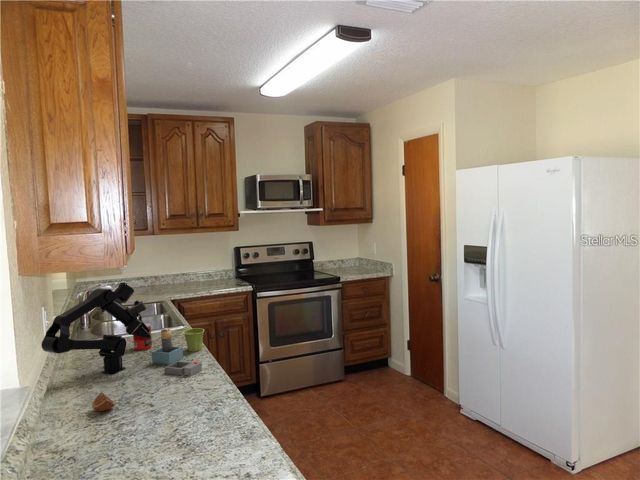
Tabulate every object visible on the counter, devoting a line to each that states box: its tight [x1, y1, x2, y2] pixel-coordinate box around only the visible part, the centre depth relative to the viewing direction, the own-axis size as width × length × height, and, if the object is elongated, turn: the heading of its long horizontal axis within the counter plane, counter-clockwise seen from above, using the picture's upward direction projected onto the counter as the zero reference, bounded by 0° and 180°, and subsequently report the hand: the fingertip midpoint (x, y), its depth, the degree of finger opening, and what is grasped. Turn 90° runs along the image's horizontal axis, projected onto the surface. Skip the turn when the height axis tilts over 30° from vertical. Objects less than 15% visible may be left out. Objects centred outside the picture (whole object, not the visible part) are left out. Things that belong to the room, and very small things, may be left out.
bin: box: [151, 345, 184, 366], centre depth 201 cm, size 9×9×5 cm
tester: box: [163, 360, 203, 377], centre depth 187 cm, size 8×12×4 cm, turn 68°
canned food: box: [132, 322, 153, 352], centre depth 221 cm, size 8×8×11 cm
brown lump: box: [91, 391, 116, 412], centre depth 154 cm, size 8×7×5 cm
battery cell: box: [160, 327, 173, 353], centre depth 201 cm, size 4×4×13 cm
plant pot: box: [182, 327, 205, 353], centre depth 215 cm, size 9×9×9 cm
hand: (149, 334), depth 197 cm, fingers open, 9 cm apart
